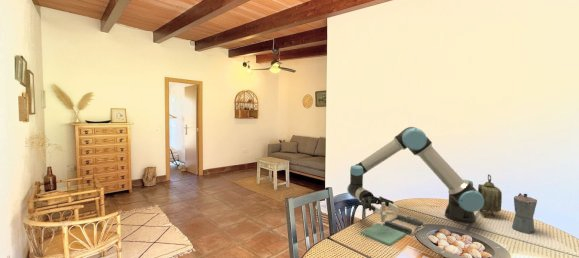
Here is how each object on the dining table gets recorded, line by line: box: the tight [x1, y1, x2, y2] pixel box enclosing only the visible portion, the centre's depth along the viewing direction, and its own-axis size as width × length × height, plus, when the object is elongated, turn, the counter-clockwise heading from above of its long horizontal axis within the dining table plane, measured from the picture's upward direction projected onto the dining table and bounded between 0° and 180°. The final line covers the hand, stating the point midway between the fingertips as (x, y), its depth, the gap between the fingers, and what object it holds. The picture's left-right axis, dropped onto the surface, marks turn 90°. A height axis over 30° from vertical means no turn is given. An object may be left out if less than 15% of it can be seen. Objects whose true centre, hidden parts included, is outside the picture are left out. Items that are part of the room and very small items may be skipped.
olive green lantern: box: [477, 174, 503, 218], centre depth 157 cm, size 14×9×25 cm, turn 153°
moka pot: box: [511, 193, 538, 235], centre depth 138 cm, size 10×15×20 cm, turn 160°
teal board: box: [360, 223, 407, 247], centre depth 134 cm, size 16×16×1 cm
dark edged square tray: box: [382, 214, 424, 237], centre depth 144 cm, size 18×17×2 cm
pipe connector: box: [372, 202, 395, 223], centre depth 133 cm, size 10×10×10 cm
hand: (388, 210), depth 128 cm, fingers closed on pipe connector, 9 cm apart
